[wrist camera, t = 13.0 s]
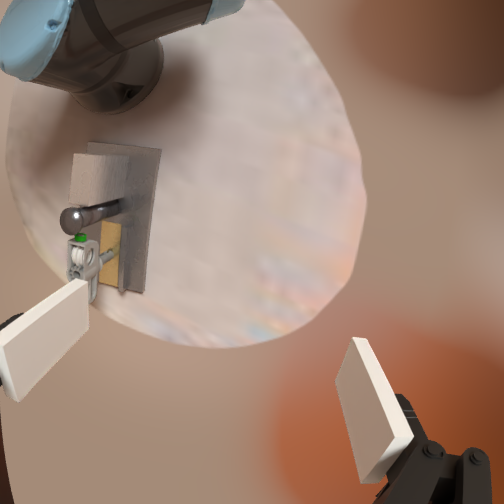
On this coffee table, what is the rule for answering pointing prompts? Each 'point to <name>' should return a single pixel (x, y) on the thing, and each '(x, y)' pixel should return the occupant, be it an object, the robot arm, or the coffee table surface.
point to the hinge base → (132, 205)
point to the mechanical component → (86, 262)
